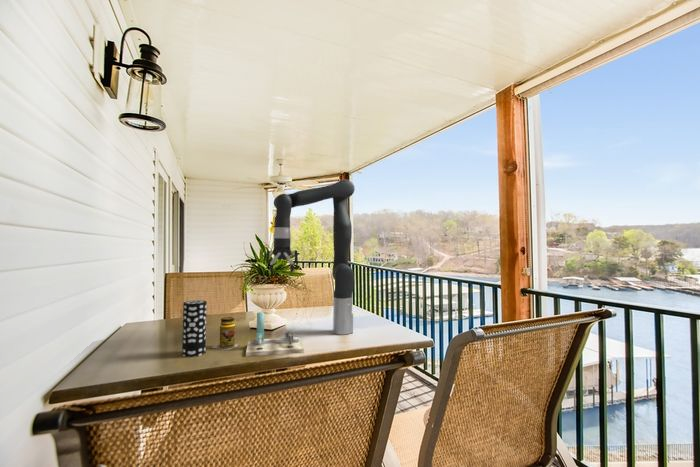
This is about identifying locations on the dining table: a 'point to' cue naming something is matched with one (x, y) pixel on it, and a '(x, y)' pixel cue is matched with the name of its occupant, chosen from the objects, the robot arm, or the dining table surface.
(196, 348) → the white-spotted black cylinder
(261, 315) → the sliding leg
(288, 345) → the grey peg board
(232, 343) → the condiment
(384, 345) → the dining table surface
